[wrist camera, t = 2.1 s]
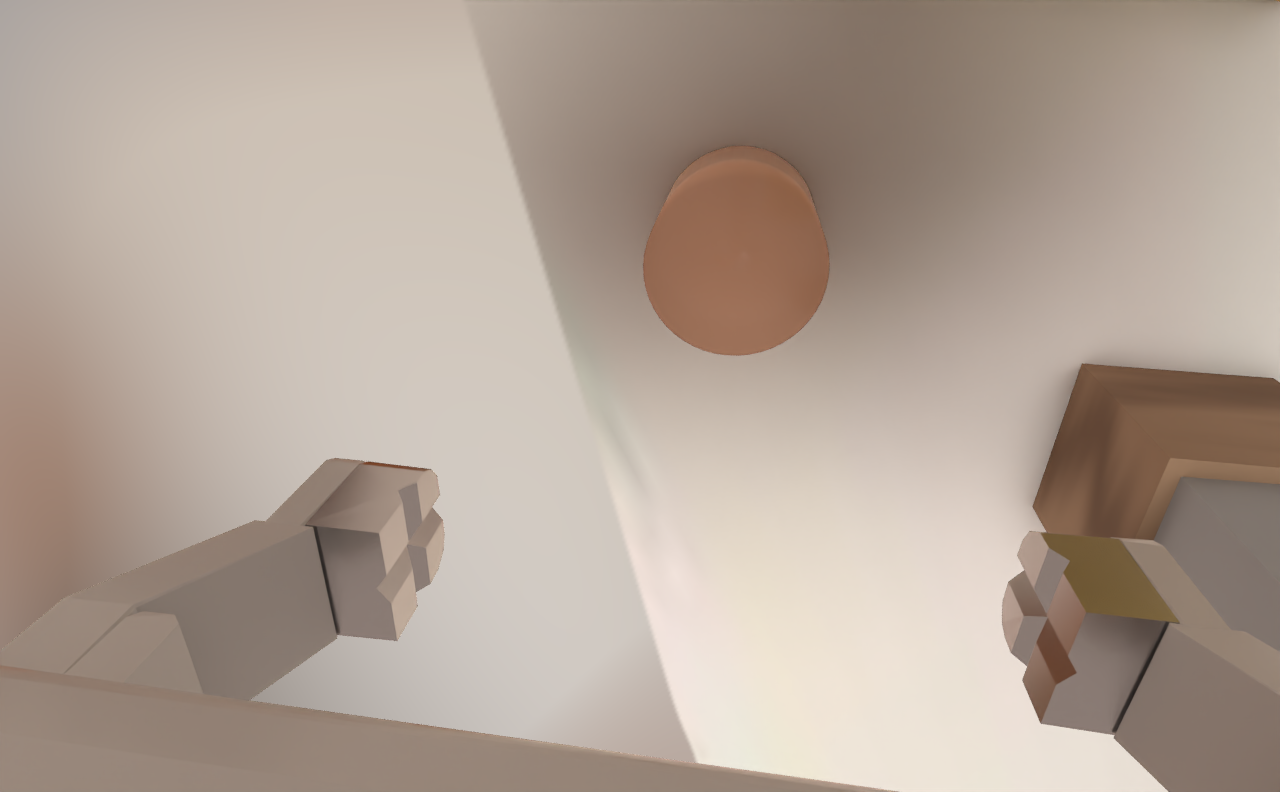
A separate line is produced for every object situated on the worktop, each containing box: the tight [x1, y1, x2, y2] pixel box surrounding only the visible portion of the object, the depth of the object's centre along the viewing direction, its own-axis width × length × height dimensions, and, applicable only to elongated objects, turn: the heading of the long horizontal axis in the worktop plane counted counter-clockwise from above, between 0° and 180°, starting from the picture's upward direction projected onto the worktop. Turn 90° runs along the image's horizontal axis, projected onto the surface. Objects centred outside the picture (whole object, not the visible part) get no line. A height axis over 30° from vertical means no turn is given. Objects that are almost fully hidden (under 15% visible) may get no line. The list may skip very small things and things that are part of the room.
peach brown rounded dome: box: [643, 146, 829, 355], centre depth 22 cm, size 5×5×5 cm
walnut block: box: [1033, 364, 1280, 540], centre depth 23 cm, size 6×6×6 cm
